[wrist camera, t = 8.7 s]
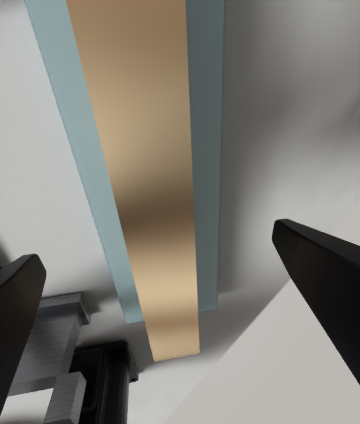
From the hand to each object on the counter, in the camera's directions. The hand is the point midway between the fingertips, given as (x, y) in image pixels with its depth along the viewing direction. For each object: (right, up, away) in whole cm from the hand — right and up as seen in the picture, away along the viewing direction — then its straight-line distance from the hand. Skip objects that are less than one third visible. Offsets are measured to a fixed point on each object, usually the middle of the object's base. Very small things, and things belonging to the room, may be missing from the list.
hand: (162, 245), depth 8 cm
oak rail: (-1, +2, +3) cm, 4 cm away
